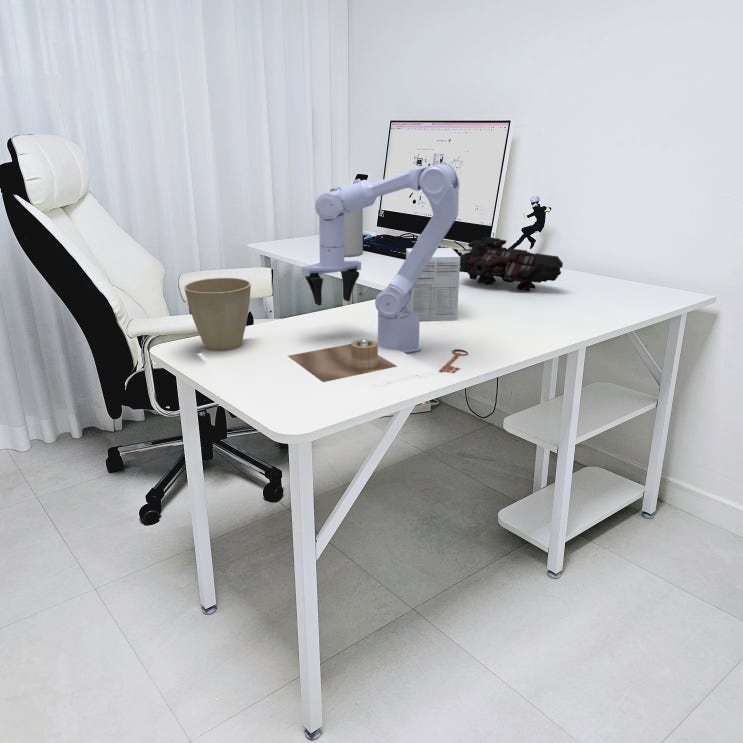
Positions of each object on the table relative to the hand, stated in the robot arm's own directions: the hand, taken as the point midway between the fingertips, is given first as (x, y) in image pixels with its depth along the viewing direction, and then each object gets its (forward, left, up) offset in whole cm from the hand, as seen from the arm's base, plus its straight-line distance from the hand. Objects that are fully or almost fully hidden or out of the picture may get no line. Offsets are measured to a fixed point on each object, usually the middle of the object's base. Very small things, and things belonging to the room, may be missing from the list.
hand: (332, 302), depth 157 cm
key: (-18, +25, -11) cm, 33 cm away
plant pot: (+25, -9, -11) cm, 28 cm away
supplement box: (-35, -9, -11) cm, 38 cm away
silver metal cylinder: (+3, +20, -9) cm, 22 cm away
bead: (+3, +20, -9) cm, 22 cm away
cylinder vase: (-55, -95, -11) cm, 110 cm away
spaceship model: (-75, -21, -11) cm, 79 cm away
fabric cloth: (+6, +15, -10) cm, 19 cm away
